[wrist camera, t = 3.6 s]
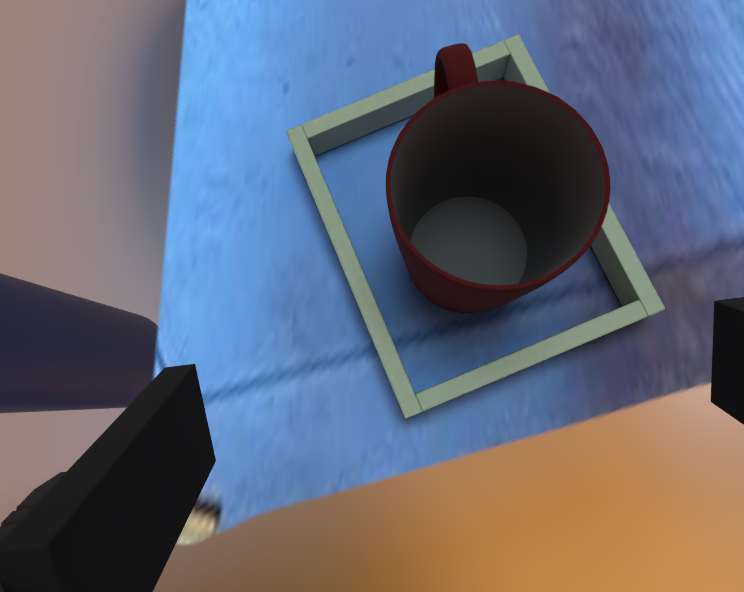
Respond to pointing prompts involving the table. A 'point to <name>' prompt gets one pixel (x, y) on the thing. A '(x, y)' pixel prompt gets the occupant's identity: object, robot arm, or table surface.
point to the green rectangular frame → (312, 141)
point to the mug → (492, 188)
